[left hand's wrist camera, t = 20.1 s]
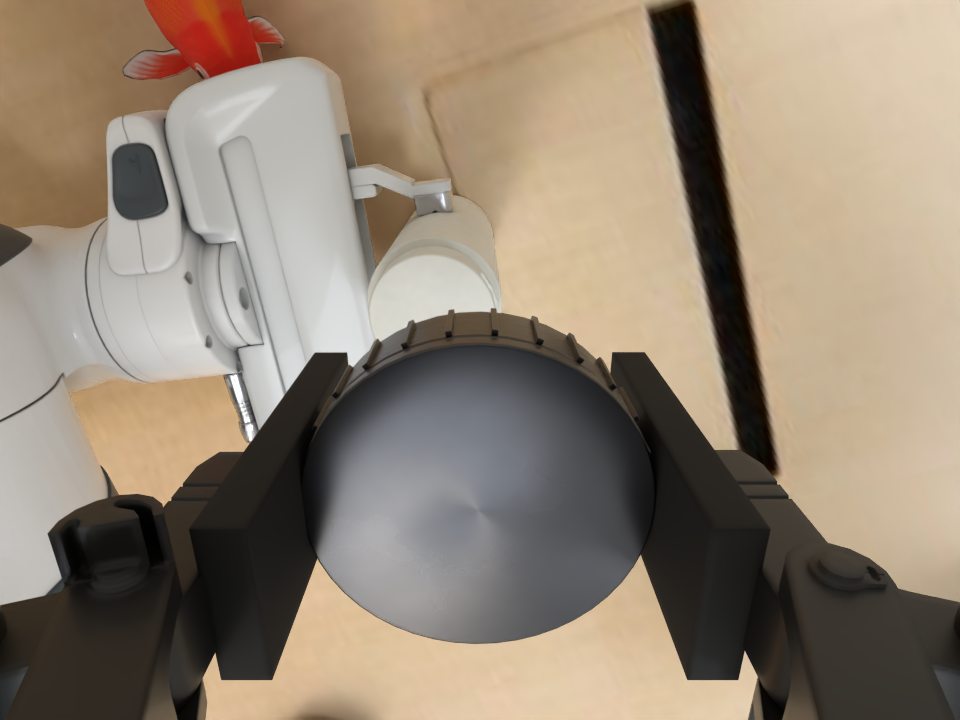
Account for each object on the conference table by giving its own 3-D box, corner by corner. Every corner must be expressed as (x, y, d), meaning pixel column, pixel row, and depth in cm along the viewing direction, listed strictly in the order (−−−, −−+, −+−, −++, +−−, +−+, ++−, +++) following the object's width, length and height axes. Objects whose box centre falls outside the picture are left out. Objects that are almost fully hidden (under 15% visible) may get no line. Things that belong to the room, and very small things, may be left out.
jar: (438, 298, 38) (415, 406, 24) (387, 227, 37) (330, 297, 22) (510, 252, 37) (531, 335, 23) (461, 176, 36) (450, 215, 21)
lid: (515, 236, 11) (522, 258, 9) (693, 485, 12) (726, 542, 11) (253, 427, 12) (217, 476, 10) (449, 625, 14) (445, 694, 12)
